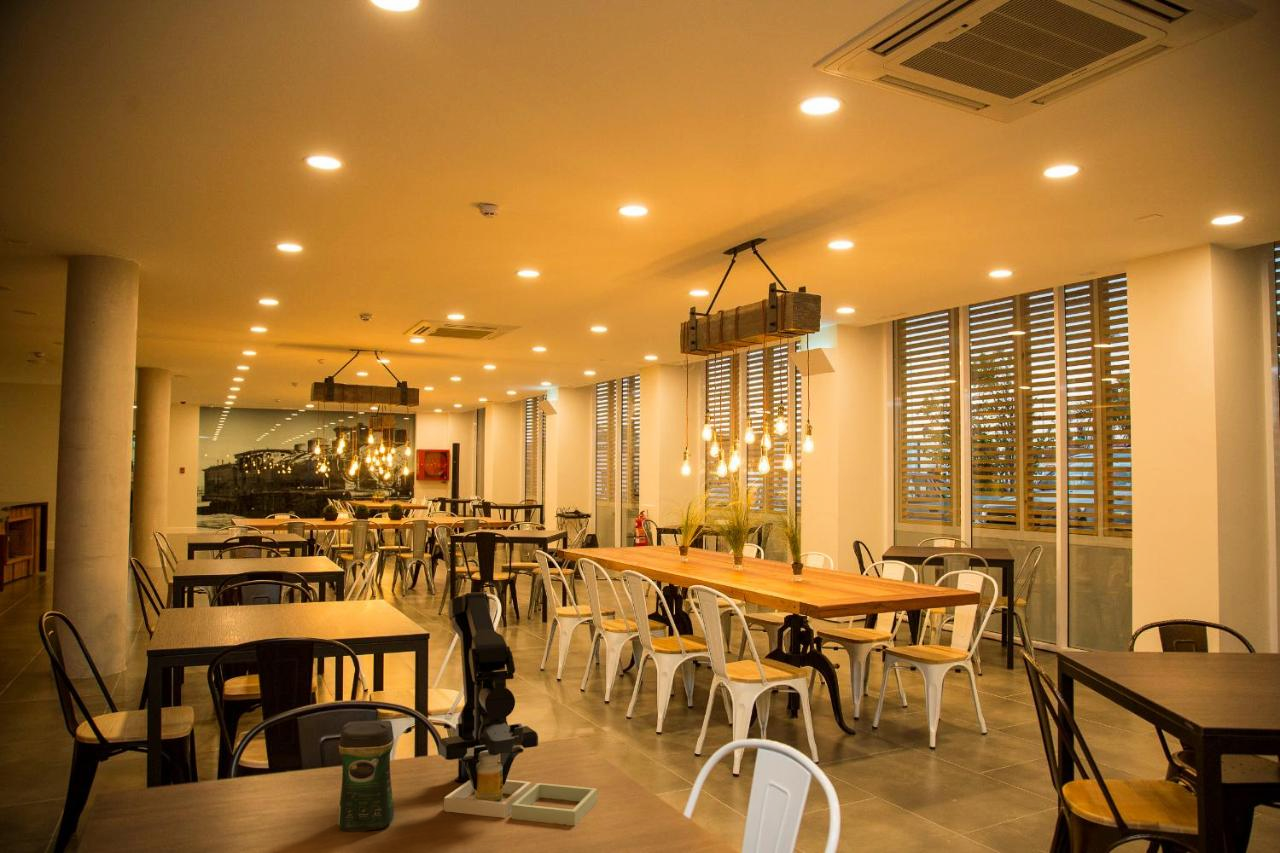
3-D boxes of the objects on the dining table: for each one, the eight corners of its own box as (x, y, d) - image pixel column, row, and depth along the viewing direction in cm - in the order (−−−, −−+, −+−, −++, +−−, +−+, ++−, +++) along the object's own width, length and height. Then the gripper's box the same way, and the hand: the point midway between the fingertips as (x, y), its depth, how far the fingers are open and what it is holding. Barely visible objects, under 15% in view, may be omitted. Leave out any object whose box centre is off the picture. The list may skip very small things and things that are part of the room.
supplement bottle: (472, 799, 176) (473, 750, 177) (499, 796, 178) (499, 747, 179) (477, 809, 171) (477, 758, 172) (505, 805, 173) (505, 755, 174)
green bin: (511, 818, 166) (511, 804, 167) (537, 795, 178) (537, 782, 179) (575, 825, 163) (575, 811, 163) (597, 801, 175) (597, 788, 175)
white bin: (444, 811, 170) (444, 797, 170) (474, 789, 182) (474, 776, 182) (504, 817, 167) (504, 804, 167) (531, 794, 179) (531, 782, 179)
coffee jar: (396, 815, 168) (398, 715, 169) (388, 831, 160) (389, 726, 161) (344, 817, 167) (345, 716, 169) (333, 833, 160) (335, 728, 161)
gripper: (455, 722, 164) (454, 809, 163) (549, 709, 173) (549, 791, 172) (438, 708, 174) (437, 790, 173) (527, 697, 183) (527, 774, 182)
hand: (488, 787), depth 175 cm, fingers closed on supplement bottle, 5 cm apart
